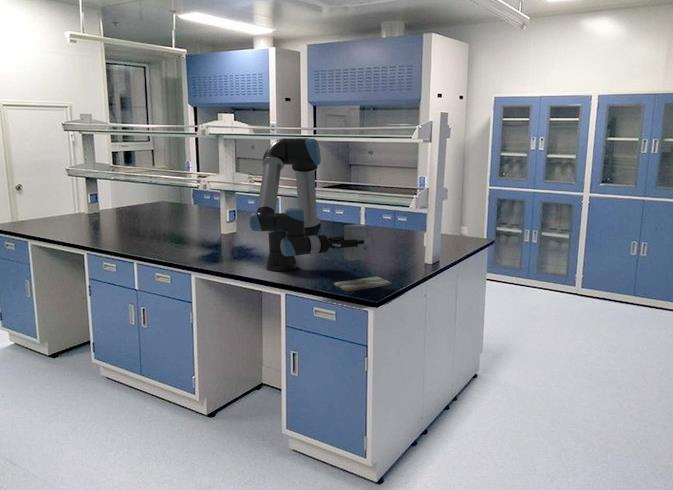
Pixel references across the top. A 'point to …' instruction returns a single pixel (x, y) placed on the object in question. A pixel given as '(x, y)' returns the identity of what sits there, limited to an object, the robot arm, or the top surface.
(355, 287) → the board
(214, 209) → the top surface
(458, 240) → the top surface
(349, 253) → the skincare box
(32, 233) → the top surface
